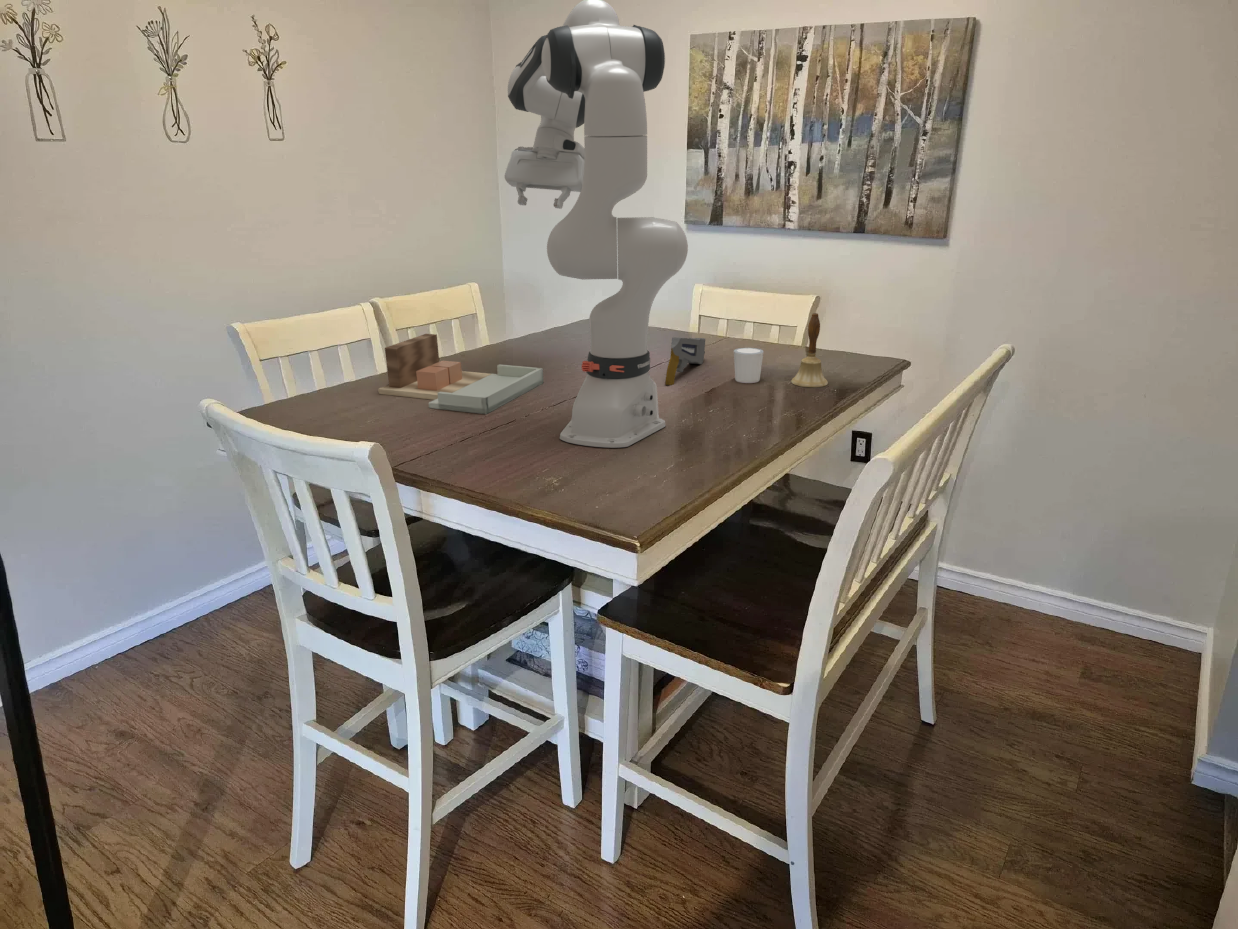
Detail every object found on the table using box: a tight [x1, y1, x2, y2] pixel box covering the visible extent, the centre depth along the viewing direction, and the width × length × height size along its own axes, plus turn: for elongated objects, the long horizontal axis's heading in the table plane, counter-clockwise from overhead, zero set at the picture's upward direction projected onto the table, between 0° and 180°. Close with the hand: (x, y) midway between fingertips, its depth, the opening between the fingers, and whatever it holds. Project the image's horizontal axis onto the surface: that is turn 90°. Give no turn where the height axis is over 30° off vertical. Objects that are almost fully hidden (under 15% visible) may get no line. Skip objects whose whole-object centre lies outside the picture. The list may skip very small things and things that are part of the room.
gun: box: [664, 336, 706, 386], centre depth 200 cm, size 3×25×15 cm, turn 158°
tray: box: [428, 364, 544, 415], centre depth 184 cm, size 26×14×4 cm, turn 158°
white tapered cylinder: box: [733, 347, 764, 384], centre depth 192 cm, size 7×7×7 cm
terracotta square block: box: [430, 360, 463, 384], centre depth 191 cm, size 5×5×4 cm
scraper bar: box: [384, 333, 440, 388], centre depth 192 cm, size 16×3×9 cm, turn 158°
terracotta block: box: [416, 366, 449, 391], centre depth 187 cm, size 5×5×4 cm
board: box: [377, 370, 492, 401], centre depth 192 cm, size 20×18×1 cm
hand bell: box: [790, 312, 829, 388], centre depth 188 cm, size 8×8×16 cm
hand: (539, 205), depth 192 cm, fingers open, 8 cm apart
